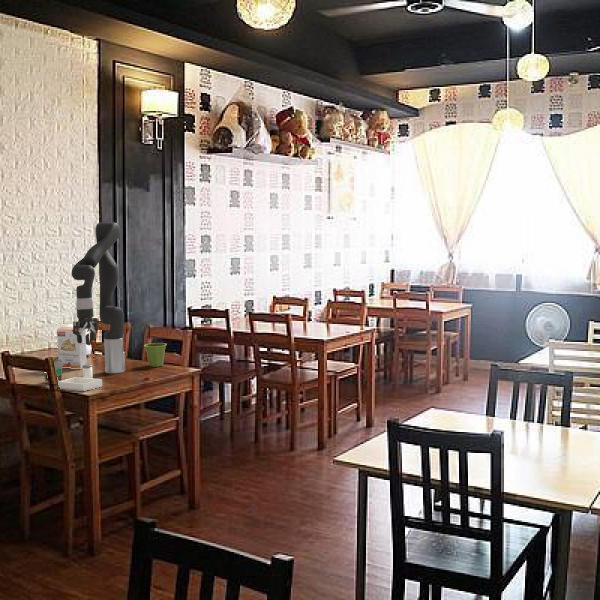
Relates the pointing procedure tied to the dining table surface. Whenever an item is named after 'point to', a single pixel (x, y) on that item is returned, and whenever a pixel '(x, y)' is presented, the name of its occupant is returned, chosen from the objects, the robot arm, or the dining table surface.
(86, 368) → the shaker
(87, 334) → the milk container
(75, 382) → the tray
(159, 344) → the plant pot
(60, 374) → the food container
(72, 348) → the cracker box
